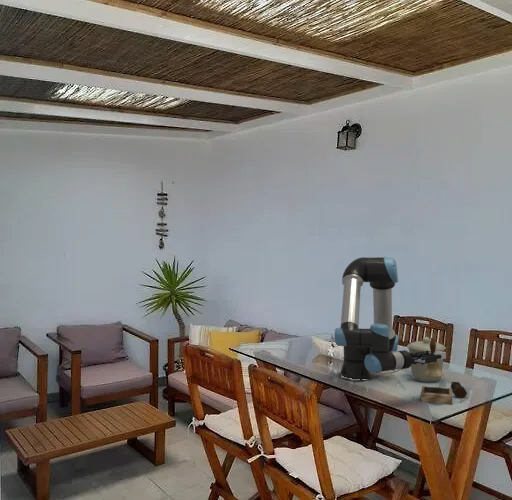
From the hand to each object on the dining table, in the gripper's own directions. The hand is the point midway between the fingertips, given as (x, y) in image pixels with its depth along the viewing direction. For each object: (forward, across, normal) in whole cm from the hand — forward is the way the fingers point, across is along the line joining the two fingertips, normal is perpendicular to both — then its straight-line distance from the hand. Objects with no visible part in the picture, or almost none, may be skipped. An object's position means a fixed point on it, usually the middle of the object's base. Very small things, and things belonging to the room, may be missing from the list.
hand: (443, 354), depth 229 cm
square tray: (-4, 0, -19) cm, 19 cm away
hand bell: (-6, 0, -8) cm, 10 cm away
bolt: (+10, -3, -19) cm, 22 cm away
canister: (+13, -26, -19) cm, 35 cm away
